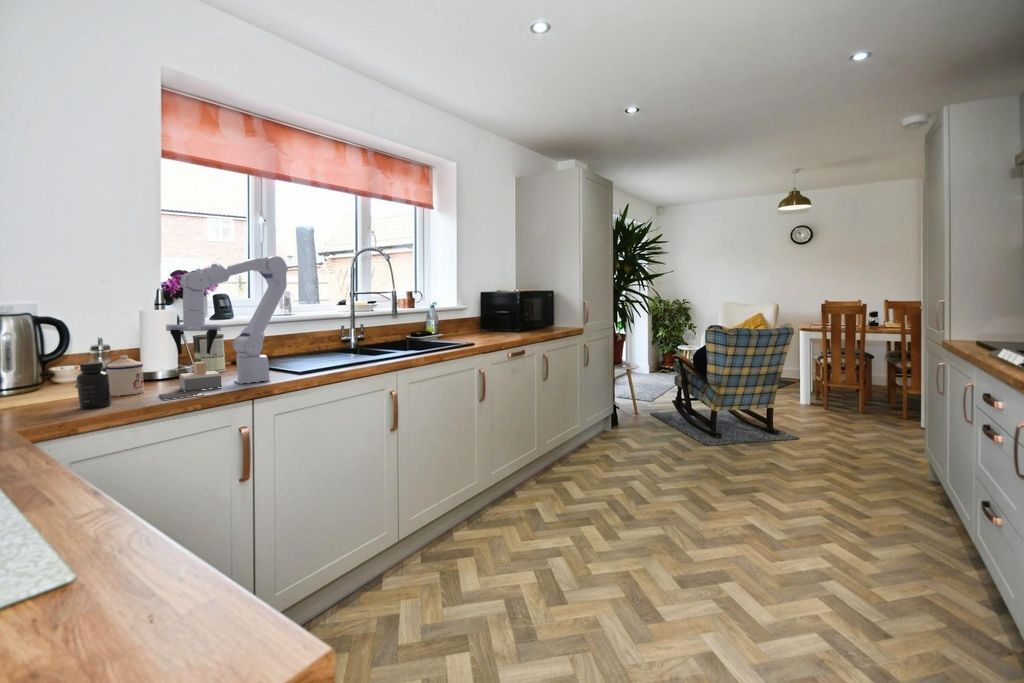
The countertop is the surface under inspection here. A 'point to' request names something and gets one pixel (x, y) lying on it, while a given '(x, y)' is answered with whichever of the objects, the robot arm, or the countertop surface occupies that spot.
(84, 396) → the supplement bottle
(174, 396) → the mat
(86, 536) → the countertop surface
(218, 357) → the coffee can
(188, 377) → the lid
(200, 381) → the box
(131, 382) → the ceramic lidded jar
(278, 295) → the robot arm
